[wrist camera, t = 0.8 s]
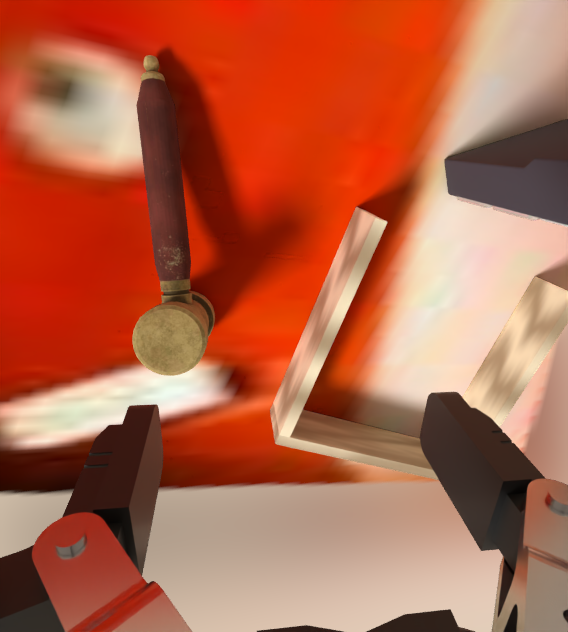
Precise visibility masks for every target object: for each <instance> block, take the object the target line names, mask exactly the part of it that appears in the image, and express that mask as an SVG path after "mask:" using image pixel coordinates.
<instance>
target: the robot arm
mask: <svg viewBox="0 0 568 632" xmlns="http://www.w3.org/2000/svg"><path fill="white" fill-rule="evenodd" d="M420 442H421V447H422V451H423V453H424V455H425V457H426V459H427V461H428V462H429V464H430V466H431V467H432V469H433V471H434V472H435V474H436V476H437V477H438V479H439V481H440V482H441V484H442V486H443V487H444V489H445V491H446V492H447V494H448V496H449V497H450V499H451V501H452V502H453V504H454V506H455V508H456V509H457V511H458V513H459V514H460V516H461V517H462V519H463V521H464V523H465V524H466V526H467V528H468V530H469V531H470V533H471V535H472V536H473V538H474V540H475V541H476V543H477V545H478V546H479V548H480V549H481V551H484V550H495V549H499V550H500V551H501V553H502V555H503V558H502V561H501V564H500V571H499V580H498V587H497V594H496V603H495V611H494V618H493V626H492V632H568V485H566V484H564V483H562V482H559V481H556V480H551V479H546V478H545V477H544V476H543V475H542V474H541V473H540V472H539V471H538V470H537V469H536V467H535V466H534V465H533V464H532V463H531V462H530V461H529V460H528V458H527V457H526V456H525V455H524V454H523V453H522V452H521V451H520V450H519V448H518V447H517V446H516V445H515V444H514V443H512V442H511V439H510V438H509V437H508V436H507V435H506V434H505V433H503V432H502V429H501V428H500V427H499V426H498V425H497V424H496V423H495V422H494V421H493V419H492V418H490V417H489V416H487V415H486V414H484V413H483V412H481V411H480V410H478V409H477V408H471V407H470V406H469V405H468V404H467V402H466V401H465V400H464V399H463V398H462V397H461V395H460V394H459V393H457V392H440V393H431V394H430V395H429V396H428V399H427V404H426V408H425V413H424V418H423V423H422V428H421V434H420ZM162 466H163V445H162V436H161V426H160V417H159V409H158V406H157V405H135V406H129V408H128V410H127V413H126V416H125V419H124V421H123V424H122V425H109V426H108V427H107V428H106V429H105V430H104V431H102V432H101V433H100V434H99V435H98V436H97V437H96V438H95V441H94V443H93V446H92V448H91V450H90V453H89V456H88V457H87V460H86V462H85V465H84V469H82V472H81V474H80V477H79V479H78V481H77V484H76V486H75V488H74V491H73V493H72V496H71V498H70V500H69V503H68V505H67V507H66V510H65V512H64V515H63V517H62V518H61V519H59V520H57V521H56V522H54V523H52V524H51V525H50V526H49V527H47V528H46V529H45V530H44V531H43V532H42V533H41V535H40V536H39V537H38V539H37V540H36V542H35V544H34V545H33V546H31V547H29V548H27V549H24V550H22V551H19V552H17V553H14V554H11V555H8V556H5V557H2V558H0V632H192V631H191V629H190V628H189V626H188V625H187V624H186V622H185V621H184V619H183V618H182V617H181V615H180V614H179V612H178V611H177V609H176V608H175V607H174V605H173V604H172V602H171V601H170V599H169V598H168V597H167V595H166V594H165V593H164V591H163V590H162V588H161V587H160V586H159V585H158V584H157V583H156V582H154V581H152V582H150V583H149V584H148V583H147V582H146V581H145V580H144V579H143V577H142V573H143V568H144V562H145V557H146V552H147V546H148V541H149V536H150V531H151V526H152V520H153V515H154V510H155V504H156V499H157V494H158V489H159V483H160V478H161V473H162ZM257 632H342V631H336V630H331V629H325V628H318V627H313V626H307V625H306V626H297V627H289V628H279V629H270V630H261V631H257ZM367 632H475V631H471V630H468V629H465V628H460V627H458V625H457V623H456V621H455V619H454V616H453V614H452V612H451V610H440V611H431V612H423V613H414V614H405V615H403V616H400V617H398V618H396V619H394V620H391V621H389V622H387V623H385V624H383V625H381V626H378V627H376V628H374V629H371V630H370V631H367Z"/></svg>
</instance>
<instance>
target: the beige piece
mask: <svg viewBox="0 0 568 632" xmlns="http://www.w3.org/2000/svg"><path fill="white" fill-rule="evenodd" d="M386 225H387V221H385V220H383V219H381V218H379V217H377V216H375V215H374V214H372V213H370V212H368V211H366V210H363V209H361V208H358V207H356V209H355V211H354V213H353V216H352V218H351V220H350V223H349V225H348V227H347V230H346V232H345V235H344V237H343V239H342V242H341V244H340V246H339V249H338V251H337V253H336V256H335V258H334V261H333V263H332V265H331V268H330V270H329V272H328V275H327V277H326V279H325V282H324V284H323V286H322V289H321V291H320V294H319V296H318V298H317V301H316V303H315V305H314V308H313V310H312V312H311V315H310V317H309V320H308V322H307V324H306V327H305V329H304V331H303V334H302V336H301V338H300V341H299V343H298V346H297V348H296V350H295V353H294V355H293V357H292V360H291V362H290V364H289V367H288V369H287V372H286V374H285V376H284V379H283V381H282V383H281V386H280V388H279V390H278V393H277V395H276V398H275V400H274V402H273V405H272V407H271V409H270V414H271V420H272V426H273V432H274V438H275V444H278V445H282V446H287V447H291V448H296V449H300V450H305V451H309V452H314V453H318V454H323V455H327V456H332V457H337V458H341V459H346V460H350V461H355V462H359V463H364V464H368V465H373V466H377V467H382V468H386V469H391V470H395V471H400V472H404V473H409V474H413V475H418V476H423V477H427V478H432V479H436V480H439V479H438V477H437V476H436V474H435V472H434V471H433V469H432V467H431V466H430V464H429V462H428V461H427V459H426V457H425V455H424V453H423V451H422V447H421V442H420V438H416V437H412V436H408V435H404V434H400V433H396V432H392V431H387V430H383V429H379V428H375V427H371V426H367V425H363V424H359V423H355V422H351V421H347V420H343V419H339V418H335V417H331V416H327V415H323V414H319V413H314V412H310V411H306V410H303V408H304V405H305V403H306V401H307V399H308V397H309V394H310V392H311V390H312V388H313V386H314V383H315V381H316V379H317V377H318V375H319V372H320V370H321V368H322V366H323V363H324V361H325V359H326V357H327V355H328V352H329V350H330V348H331V346H332V344H333V341H334V339H335V337H336V335H337V333H338V330H339V328H340V326H341V324H342V322H343V319H344V317H345V315H346V313H347V311H348V308H349V306H350V304H351V302H352V300H353V297H354V295H355V293H356V291H357V289H358V286H359V284H360V282H361V280H362V278H363V275H364V273H365V271H366V269H367V267H368V264H369V262H370V260H371V258H372V255H373V253H374V251H375V249H376V247H377V244H378V242H379V240H380V238H381V236H382V233H383V231H384V229H385V227H386ZM567 323H568V290H565V289H563V288H561V287H559V286H557V285H554V284H552V283H550V282H548V281H546V280H543V279H541V278H538V277H536V276H535V277H534V279H533V280H532V282H531V284H530V285H529V287H528V289H527V290H526V292H525V294H524V295H523V297H522V299H521V300H520V302H519V304H518V305H517V307H516V309H515V310H514V312H513V314H512V315H511V317H510V319H509V320H508V322H507V324H506V325H505V327H504V329H503V330H502V332H501V334H500V335H499V337H498V339H497V341H496V342H495V344H494V346H493V347H492V349H491V351H490V352H489V354H488V356H487V357H486V359H485V361H484V362H483V364H482V366H481V367H480V369H479V371H478V372H477V374H476V376H475V377H474V379H473V381H472V382H471V384H470V386H469V387H468V389H467V391H466V392H465V394H464V396H463V397H462V398H463V399H464V400H465V401H466V402H467V404H468V405H469V406H470V407H471V408H477V409H478V410H480V411H481V412H483V413H484V414H486V415H487V416H489V417H490V418H492V419H493V421H494V422H495V423H496V424H497V425H498V426H499V427H500V426H501V424H502V423H503V421H504V420H505V418H506V417H507V415H508V414H509V412H510V411H511V409H512V408H513V406H514V404H515V403H516V401H517V400H518V398H519V397H520V395H521V394H522V392H523V391H524V389H525V388H526V386H527V384H528V383H529V381H530V380H531V378H532V377H533V375H534V374H535V372H536V371H537V369H538V368H539V366H540V364H541V363H542V361H543V360H544V358H545V357H546V355H547V354H548V352H549V351H550V349H551V348H552V346H553V344H554V343H555V341H556V340H557V338H558V337H559V335H560V334H561V332H562V331H563V329H564V328H565V326H566V324H567Z"/></svg>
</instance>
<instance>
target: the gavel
mask: <svg viewBox="0 0 568 632" xmlns="http://www.w3.org/2000/svg"><path fill="white" fill-rule="evenodd" d="M144 67H145V69H146V72H145V73H143V74H142V76H141V82H142V83H141V87H140V92H139V97H138V101H137V112H138V121H139V129H140V138H141V147H142V155H143V164H144V173H145V181H146V190H147V198H148V207H149V216H150V224H151V233H152V241H153V250H154V259H155V265H156V269H157V272H158V276H159V279H160V285H161V291H163V292H164V295H161V297H162V304H159V305H157V306H155V307H154V308H152V309H150V310H149V311H147V312H146V313H145V314H144V315H143V316H142V317H141V318H140V319H139V321H138V322H137V324H136V326H135V328H134V332H133V347H134V351H135V353H136V355H137V357H138V359H139V360H140V362H141V363H142V364H143V365H144V366H145V367H146V368H148V369H149V370H151V371H153V372H155V373H158V374H161V375H179V374H182V373H185V372H187V371H189V370H190V369H192V368H193V367H194V366H195V365H197V364H198V362H199V361H200V360H201V358H202V356H203V354H204V352H205V349H206V346H207V342H208V336H209V335H210V334H211V331H212V329H213V326H214V322H215V313H214V309H213V306H212V304H211V303H210V301H209V300H208V299H207V298H206V297H205V296H203V295H202V294H200V293H198V292H195V291H189V289H191V286H190V267H191V258H190V248H189V238H188V229H187V219H186V209H185V199H184V190H183V180H182V170H181V160H180V151H179V141H178V131H177V121H176V112H175V104H174V102H173V100H172V97H171V95H170V93H169V90H168V88H167V86H166V83H165V78H164V76H163V75H162V74H161V73H158V69H159V62H158V59H157V58H156V57H155V56H151V55H149V56H146V57H145V59H144Z"/></svg>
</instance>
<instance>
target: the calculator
mask: <svg viewBox="0 0 568 632" xmlns="http://www.w3.org/2000/svg"><path fill="white" fill-rule="evenodd" d="M445 170H446V178H447V186H448V193H449V194H450V195H454V196H457V200H460V201H464V202H467V203H471V204H474V205H478V206H482V207H486V208H489V207H493V209H494V210H496V211H500V212H503V213H507V214H511V215H514V216H518V217H522V218H525V219H529V220H539V219H541V220H543V221H547V222H550V223H554V224H558V225H562V226H566V227H568V119H566V120H562V121H559V122H556V123H553V124H550V125H547V126H544V127H541V128H538V129H535V130H532V131H528V132H525V133H522V134H519V135H516V136H513V137H510V138H507V139H504V140H501V141H497V142H494V143H491V144H488V145H485V146H482V147H479V148H476V149H473V150H470V151H467V152H463V153H460V154H457V155H454V156H451V157H448V158H446V159H445Z"/></svg>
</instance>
